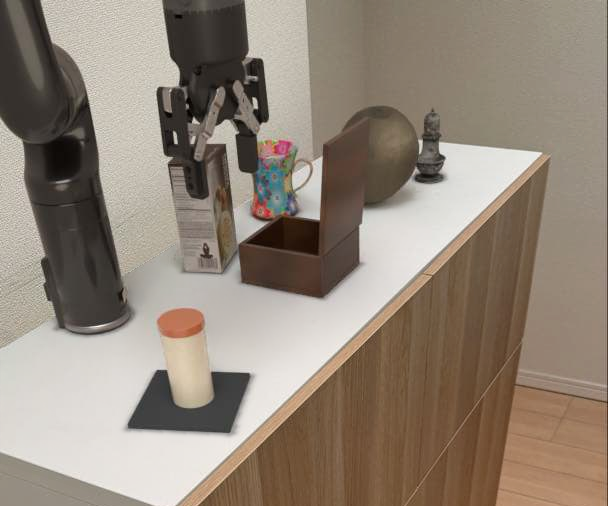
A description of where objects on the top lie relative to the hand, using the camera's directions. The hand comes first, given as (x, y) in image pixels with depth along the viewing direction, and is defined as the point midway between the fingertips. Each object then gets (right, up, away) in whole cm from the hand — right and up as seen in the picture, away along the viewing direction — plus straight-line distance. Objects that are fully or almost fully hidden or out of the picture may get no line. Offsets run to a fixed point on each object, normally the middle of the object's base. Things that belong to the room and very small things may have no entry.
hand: (224, 184), depth 81 cm
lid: (+13, +11, +24) cm, 30 cm away
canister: (-5, -20, +11) cm, 24 cm away
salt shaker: (+32, +30, +64) cm, 77 cm away
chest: (+8, +3, +36) cm, 37 cm away
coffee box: (-6, +7, +41) cm, 42 cm away
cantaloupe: (+21, +23, +56) cm, 64 cm away
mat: (-5, -21, +11) cm, 24 cm away
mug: (+5, +20, +54) cm, 58 cm away
